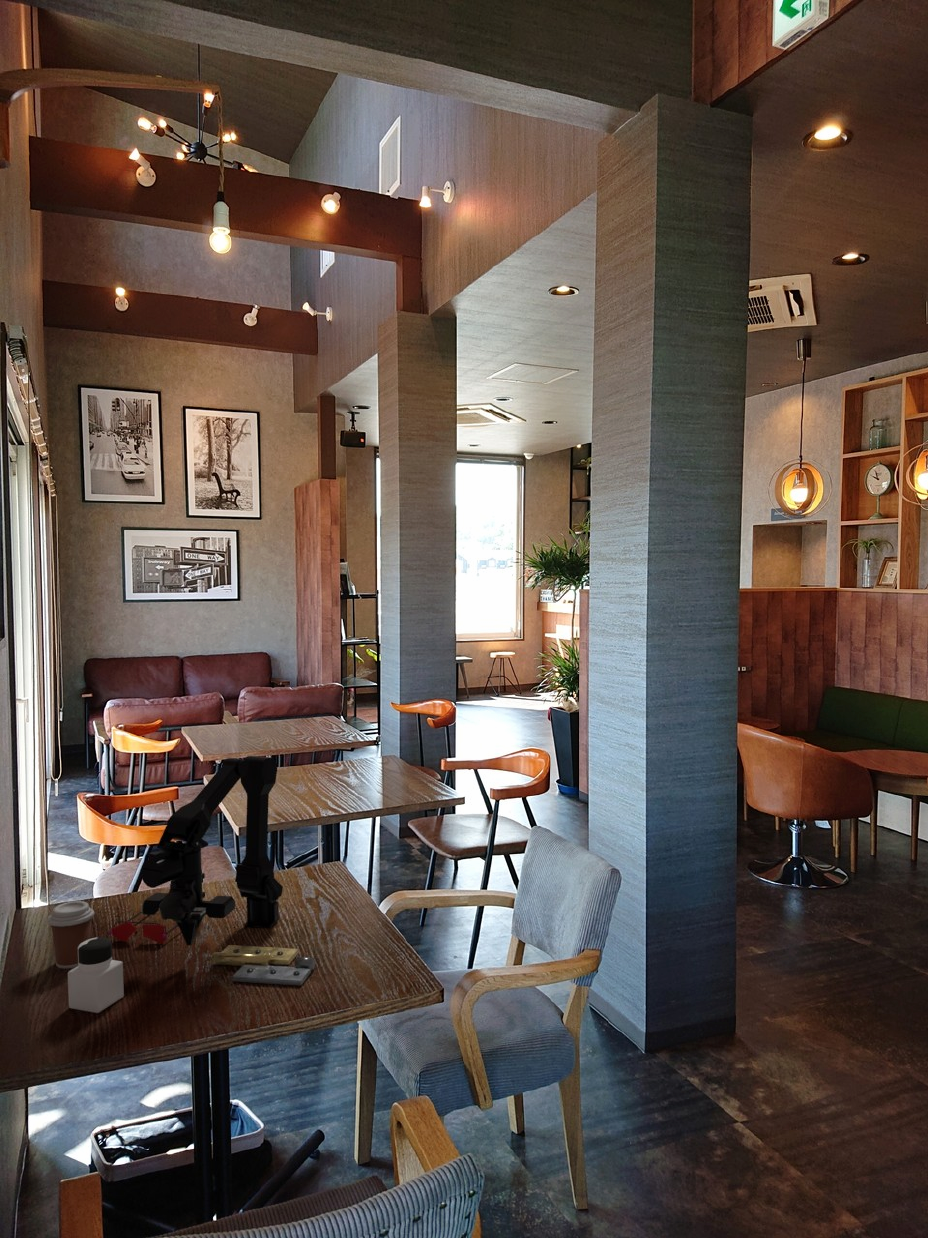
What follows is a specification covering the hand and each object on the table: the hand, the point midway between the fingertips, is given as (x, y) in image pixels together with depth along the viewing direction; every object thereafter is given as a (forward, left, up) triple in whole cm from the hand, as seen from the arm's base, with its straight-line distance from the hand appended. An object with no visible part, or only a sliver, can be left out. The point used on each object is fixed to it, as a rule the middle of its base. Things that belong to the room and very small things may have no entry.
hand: (189, 945), depth 183 cm
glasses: (-17, +16, -4) cm, 23 cm away
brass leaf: (+13, +3, -4) cm, 14 cm away
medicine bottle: (-10, -19, -4) cm, 22 cm away
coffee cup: (-26, -3, -4) cm, 26 cm away
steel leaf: (+20, -3, -4) cm, 21 cm away
